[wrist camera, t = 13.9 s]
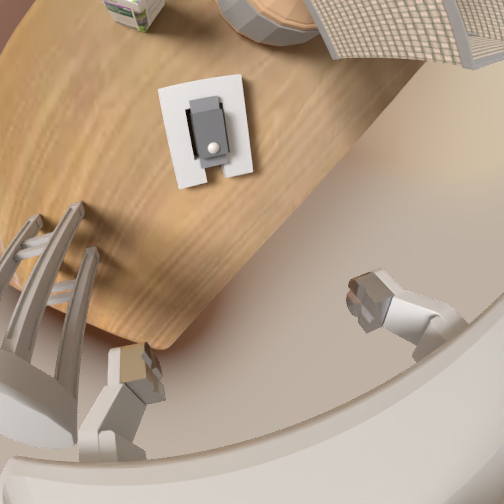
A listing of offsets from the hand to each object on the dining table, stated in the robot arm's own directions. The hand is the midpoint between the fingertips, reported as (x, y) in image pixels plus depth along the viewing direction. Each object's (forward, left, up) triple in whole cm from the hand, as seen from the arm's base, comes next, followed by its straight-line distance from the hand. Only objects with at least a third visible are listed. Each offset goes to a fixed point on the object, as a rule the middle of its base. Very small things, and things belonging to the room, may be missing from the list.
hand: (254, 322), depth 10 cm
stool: (+10, -25, -37) cm, 46 cm away
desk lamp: (-23, +17, -37) cm, 47 cm away
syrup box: (-23, -3, -37) cm, 44 cm away
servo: (-1, +4, -37) cm, 37 cm away
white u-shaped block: (-1, +4, -37) cm, 37 cm away
